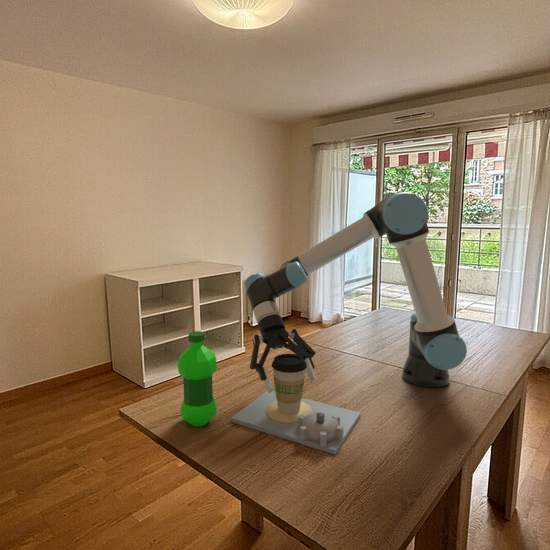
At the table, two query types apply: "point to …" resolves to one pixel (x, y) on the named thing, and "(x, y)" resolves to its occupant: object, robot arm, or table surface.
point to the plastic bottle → (197, 381)
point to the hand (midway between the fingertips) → (293, 386)
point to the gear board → (300, 422)
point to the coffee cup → (289, 382)
